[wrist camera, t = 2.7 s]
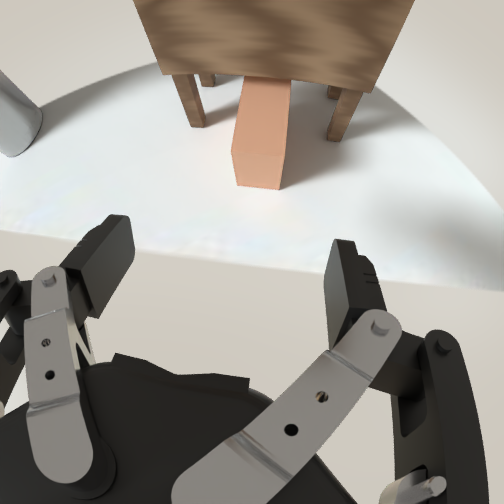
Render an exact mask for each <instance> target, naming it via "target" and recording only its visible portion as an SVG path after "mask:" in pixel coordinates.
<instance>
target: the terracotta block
mask: <svg viewBox="0 0 504 504" xmlns="http://www.w3.org/2000/svg"><path fill="white" fill-rule="evenodd" d="M290 90H291V80H290V79H281V78H271V77H259V76H244V81H243V86H242V92H241V97H240V102H239V108H238V113H237V119H236V124H235V130H234V136H233V141H232V147H231V155H232V160H233V166H234V171H235V176H236V182H237V186H247V187H257V188H266V189H275V190H279V187H280V182H281V176H282V170H283V164H284V158H285V148H286V137H287V126H288V114H289V102H290Z"/></svg>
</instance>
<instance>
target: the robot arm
mask: <svg viewBox="0 0 504 504" xmlns="http://www.w3.org/2000/svg"><path fill="white" fill-rule="evenodd" d="M41 123H42V112H41V110H40V109H39V108H38V107H37V106H36V105H35V104H34V103H33V102H32V101H31V100H30V99H29V98H28V97H27V96H26V95H25V94H24V93H23V92H22V91H21V90H20V89H19V88H18V87H17V86H16V85H15V84H14V83H13V82H12V81H11V80H10V79H9V78H8V77H7V76H6V75H5V74H4V73H3V72H2V71H1V70H0V152H1V153H3V154H4V155H6V156H8V157H14V156H17V155H19V154H20V153H22V152H23V151H24V150H25V149H26V148H27V147H28V146H29V145H30V144H31V142H32V141H33V140H34V138H35V136H36V135H37V133H38V131H39V129H40V126H41ZM134 255H135V246H134V241H133V235H132V229H131V222H130V219H129V217H128V216H125V215H113V214H111V215H109V216H108V217H107V218H106V219H105V220H104V221H103V223H102V224H101V225H98V226H97V227H95V228H93V229H92V230H90V231H89V232H88V233H87V234H86V235H85V236H84V237H83V238H82V241H80V242H79V243H78V244H77V246H76V247H74V249H73V250H72V251H71V252H70V253H69V254H68V256H67V257H66V258H65V259H64V260H63V262H62V263H61V264H60V265H59V266H51V267H47V268H45V269H43V270H41V271H40V272H38V273H37V274H36V275H35V277H34V278H33V280H28V281H20V280H19V278H18V276H17V274H16V272H15V271H13V270H6V271H3V272H1V273H0V322H1V321H2V319H3V318H4V317H5V319H6V320H7V322H8V324H9V326H10V327H9V329H8V330H7V332H6V334H5V335H4V337H3V339H2V340H1V342H0V504H357V502H356V501H355V500H354V499H353V498H352V497H351V495H350V494H349V493H348V492H347V491H346V489H345V488H344V487H343V486H342V485H341V483H340V482H339V481H338V480H337V479H336V477H335V476H334V475H333V474H332V472H331V471H330V470H329V469H328V467H327V466H326V465H325V464H324V462H323V461H322V460H321V459H320V458H319V456H318V455H317V454H316V452H317V451H318V450H319V449H320V447H321V446H322V445H323V444H324V443H325V442H326V440H327V439H328V438H329V437H330V436H331V434H332V433H333V432H334V431H335V429H336V428H337V427H338V426H339V425H340V423H341V422H342V421H343V420H344V418H345V417H346V416H347V415H348V413H349V412H350V411H351V409H352V408H353V407H354V405H355V404H356V403H357V401H358V400H359V398H360V397H361V396H362V395H363V393H364V392H365V390H366V389H367V387H370V388H373V389H376V390H379V391H382V392H385V393H389V394H390V395H391V406H392V418H393V435H394V459H395V481H394V482H392V483H391V484H389V485H388V486H387V487H386V488H385V489H384V490H383V492H382V494H381V496H380V500H379V504H489V492H488V481H487V470H486V461H485V455H484V447H483V440H482V434H481V429H480V424H479V418H478V413H477V409H476V405H475V400H474V396H473V391H472V387H471V383H470V380H469V376H468V372H467V369H466V365H465V362H464V358H463V355H462V352H461V348H460V346H459V343H458V342H457V340H456V339H455V338H454V337H453V336H452V335H451V334H449V333H448V332H445V331H442V330H432V331H430V332H429V333H428V334H427V335H426V336H425V338H421V337H419V336H415V335H412V334H410V333H407V332H405V331H403V330H402V328H401V325H400V323H399V321H398V320H397V319H396V318H395V317H394V316H393V315H392V314H390V313H388V312H387V309H386V306H385V302H384V298H383V295H382V291H381V288H380V285H379V281H378V278H377V277H376V272H375V269H374V265H373V264H372V263H371V262H370V260H369V259H368V258H367V257H366V256H363V255H358V252H357V249H356V245H355V242H354V241H349V240H341V239H334V241H333V244H332V247H331V251H330V255H329V259H328V263H327V267H326V270H325V275H324V293H325V304H326V315H327V325H328V326H327V327H328V339H329V350H326V351H324V352H323V353H322V354H321V355H320V356H319V357H318V358H317V359H316V360H315V361H314V363H312V365H311V366H310V367H309V368H308V369H307V370H306V371H305V372H304V373H303V374H302V375H301V376H300V377H299V378H298V379H297V380H296V381H295V382H294V383H293V384H292V385H291V386H290V387H289V388H288V389H287V390H286V391H285V392H283V393H282V394H281V395H280V397H278V398H277V399H276V400H275V401H273V400H272V399H270V398H269V397H267V396H266V395H264V394H262V393H260V392H258V391H256V390H253V389H251V388H249V381H250V378H244V377H236V376H230V375H223V374H216V373H210V374H191V375H190V374H189V375H177V374H173V373H171V372H169V371H167V370H165V369H163V368H161V367H158V366H156V365H154V364H152V363H150V362H148V361H146V360H143V359H139V358H134V357H130V356H126V355H122V354H118V353H115V355H114V357H113V359H112V361H111V362H103V363H97V364H96V362H95V359H94V355H93V351H92V347H91V342H90V338H89V334H88V329H87V325H86V323H85V320H86V318H87V316H89V317H93V318H97V319H99V317H100V315H101V313H102V312H103V310H104V308H105V307H106V305H107V303H108V302H109V300H110V298H111V296H112V295H113V293H114V291H115V290H116V288H117V286H118V285H119V283H120V282H121V280H122V278H123V277H124V275H125V273H126V272H127V270H128V269H129V267H130V265H131V264H132V262H133V260H134ZM24 365H25V366H26V378H27V388H28V397H29V401H28V402H26V403H25V404H23V405H21V406H20V407H18V408H16V409H15V410H13V411H11V412H10V413H8V414H6V415H5V416H4V408H5V406H6V404H7V402H8V399H9V397H10V395H11V393H12V390H13V388H14V386H15V384H16V382H17V380H18V377H19V375H20V373H21V371H22V369H23V367H24Z"/></svg>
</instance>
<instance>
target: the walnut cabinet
mask: <svg viewBox="0 0 504 504" xmlns="http://www.w3.org/2000/svg"><path fill="white" fill-rule="evenodd" d="M133 1H134V4H135V7H136V9H137V12H138V14H139V16H140V19H141V22H142V24H143V26H144V29H145V32H146V34H147V37H148V39H149V42H150V44H151V47H152V49H153V52H154V54H155V56H156V59H157V61H158V64H159V66H160V69H161V71H162V74H163V75H172V78H173V80H174V83H175V86H176V88H177V91H178V94H179V96H180V99H181V102H182V104H183V107H184V110H185V112H186V115H187V118H188V120H189V123H190V125H191V127H201V128H203V127H204V123H205V118H206V117H205V113H204V110H203V106H202V103H201V99H200V96H199V92H198V88H197V85H196V81H195V78H194V74H199V78H200V81H201V85H202V86H203V87H213V86H214V82H215V74H223V75H245V76H259V77H271V78H281V79H290V80H298V81H305V82H312V83H319V84H325V85H329V87H328V98H332V99H338V103H337V105H336V108H335V111H334V114H333V116H332V119H331V122H330V124H329V127H328V130H327V140H330V141H336V142H340V141H341V139H342V136H343V134H344V132H345V130H346V128H347V126H348V124H349V122H350V120H351V118H352V115H353V113H354V111H355V109H356V107H357V105H358V103H359V100H360V98H361V96H362V94H363V92H366V93H371V91H372V89H373V87H374V85H375V83H376V81H377V79H378V77H379V75H380V73H381V71H382V69H383V67H384V65H385V63H386V60H387V58H388V56H389V54H390V52H391V50H392V48H393V46H394V44H395V42H396V40H397V37H398V35H399V33H400V31H401V29H402V27H403V25H404V23H405V20H406V18H407V16H408V14H409V12H410V9H411V7H412V5H413V3H414V1H415V0H133Z"/></svg>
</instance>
